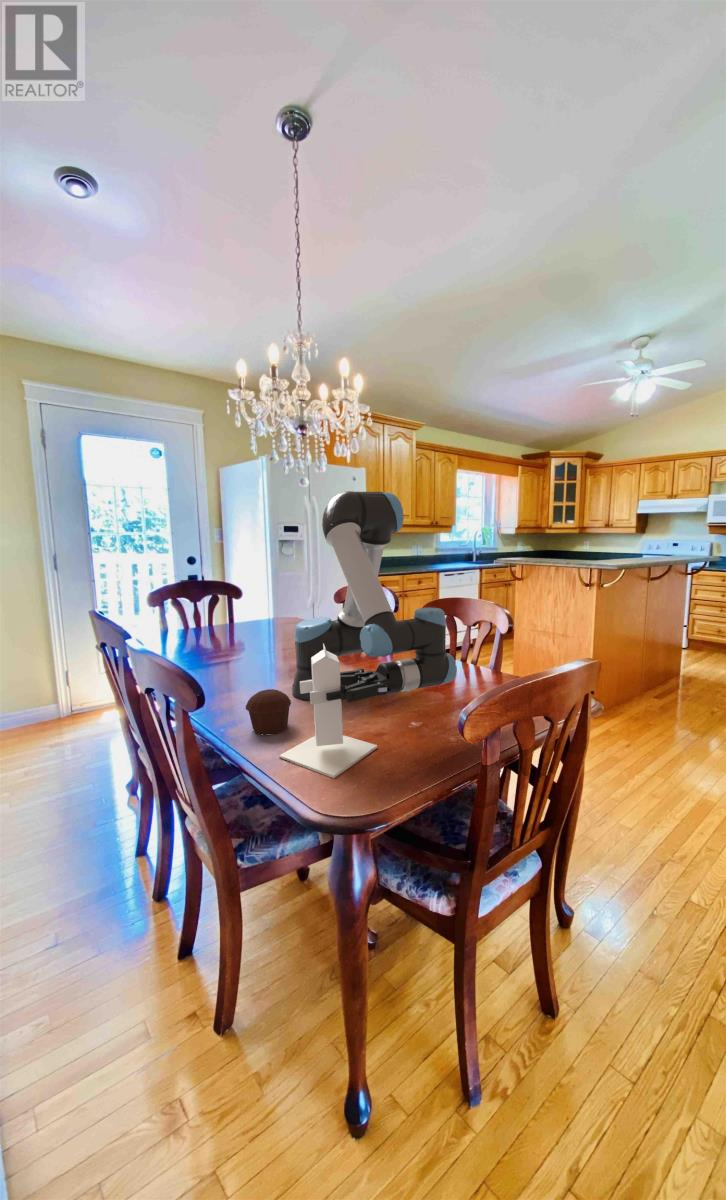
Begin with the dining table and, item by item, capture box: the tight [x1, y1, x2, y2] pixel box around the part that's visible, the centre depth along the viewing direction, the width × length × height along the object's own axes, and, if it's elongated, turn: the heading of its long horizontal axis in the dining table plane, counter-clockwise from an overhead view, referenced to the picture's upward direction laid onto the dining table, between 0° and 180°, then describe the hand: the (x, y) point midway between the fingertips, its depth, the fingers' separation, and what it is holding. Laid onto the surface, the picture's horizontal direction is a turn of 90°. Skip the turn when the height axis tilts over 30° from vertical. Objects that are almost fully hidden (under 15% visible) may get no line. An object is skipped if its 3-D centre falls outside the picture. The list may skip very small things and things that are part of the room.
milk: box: [311, 643, 344, 746], centre depth 104 cm, size 6×6×22 cm
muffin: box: [245, 688, 292, 736], centre depth 120 cm, size 12×11×10 cm
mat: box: [278, 734, 378, 779], centre depth 106 cm, size 16×16×1 cm
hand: (305, 692), depth 102 cm, fingers closed on milk, 7 cm apart
